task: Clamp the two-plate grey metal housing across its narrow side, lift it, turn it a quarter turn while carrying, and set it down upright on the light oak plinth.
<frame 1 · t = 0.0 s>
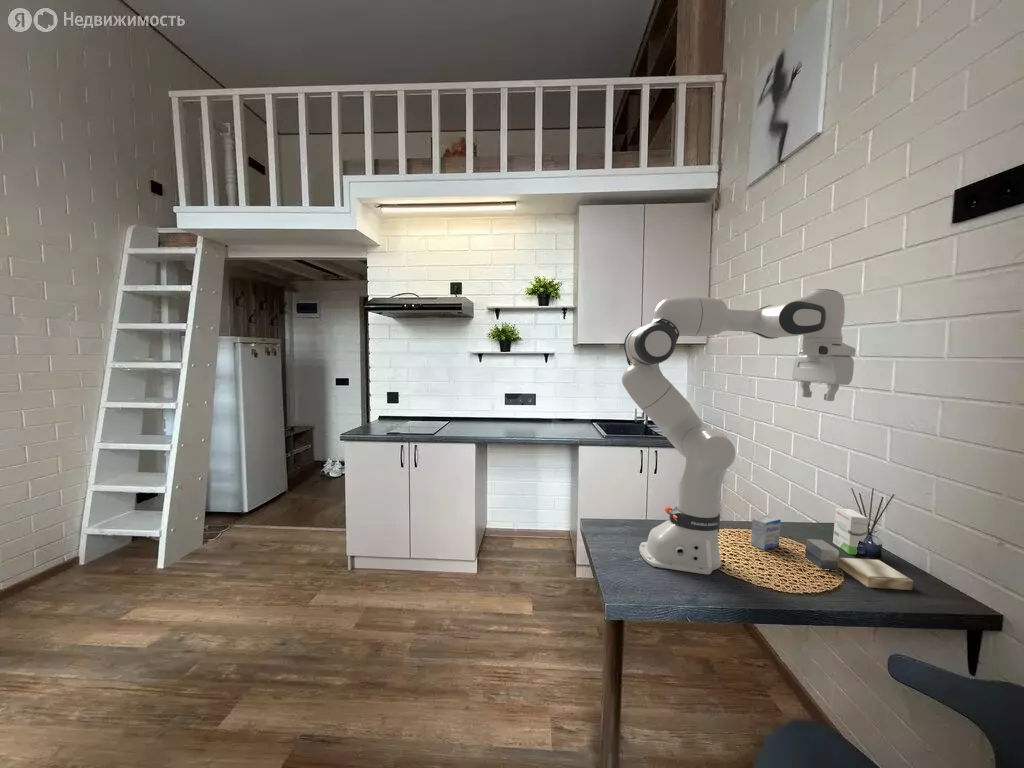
hand: (817, 399, 118), 48 cm above the table, fingers open, 8 cm apart
plinth: (873, 577, 116), on the table
medicine box: (764, 546, 134), on the table
ink box: (848, 549, 133), on the table
housing: (820, 564, 122), on the table
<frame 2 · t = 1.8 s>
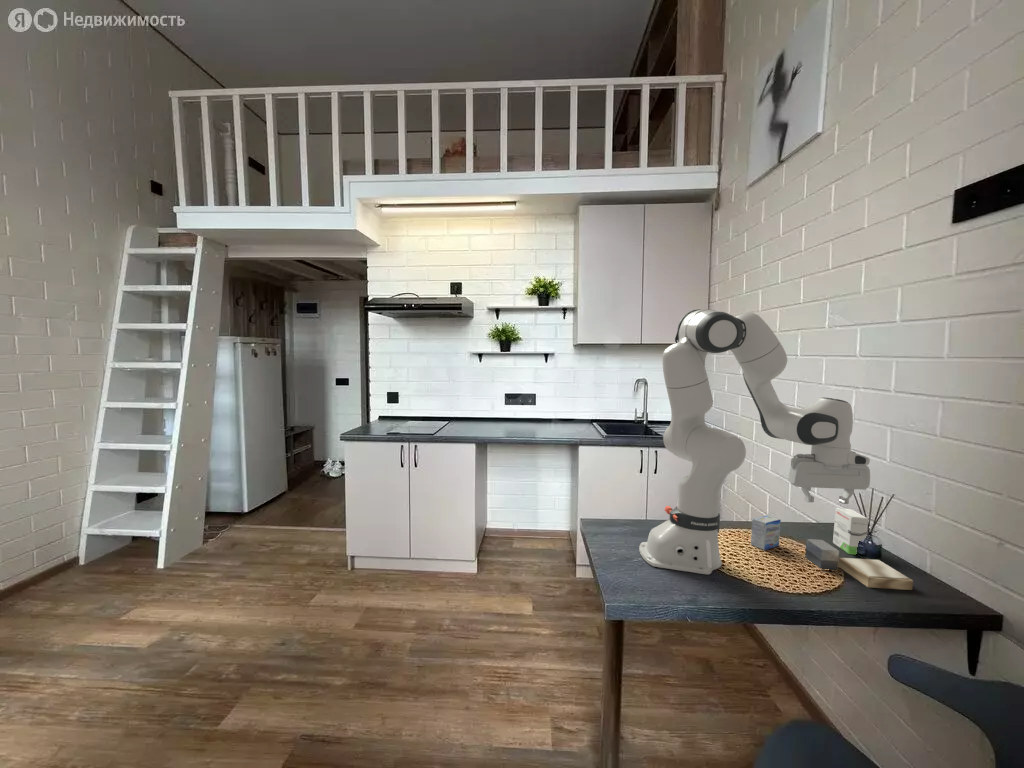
hand: (826, 502, 121), 18 cm above the table, fingers open, 8 cm apart
nothing on the table moved.
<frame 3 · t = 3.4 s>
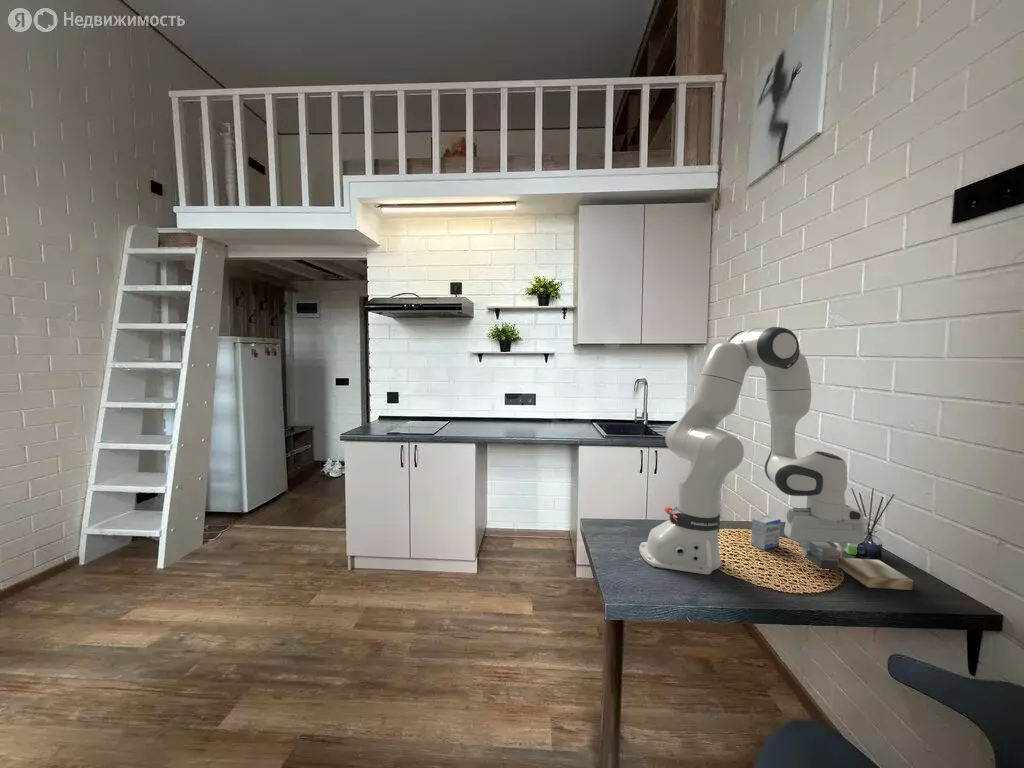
hand: (821, 555, 122), 3 cm above the table, fingers open, 7 cm apart
nothing on the table moved.
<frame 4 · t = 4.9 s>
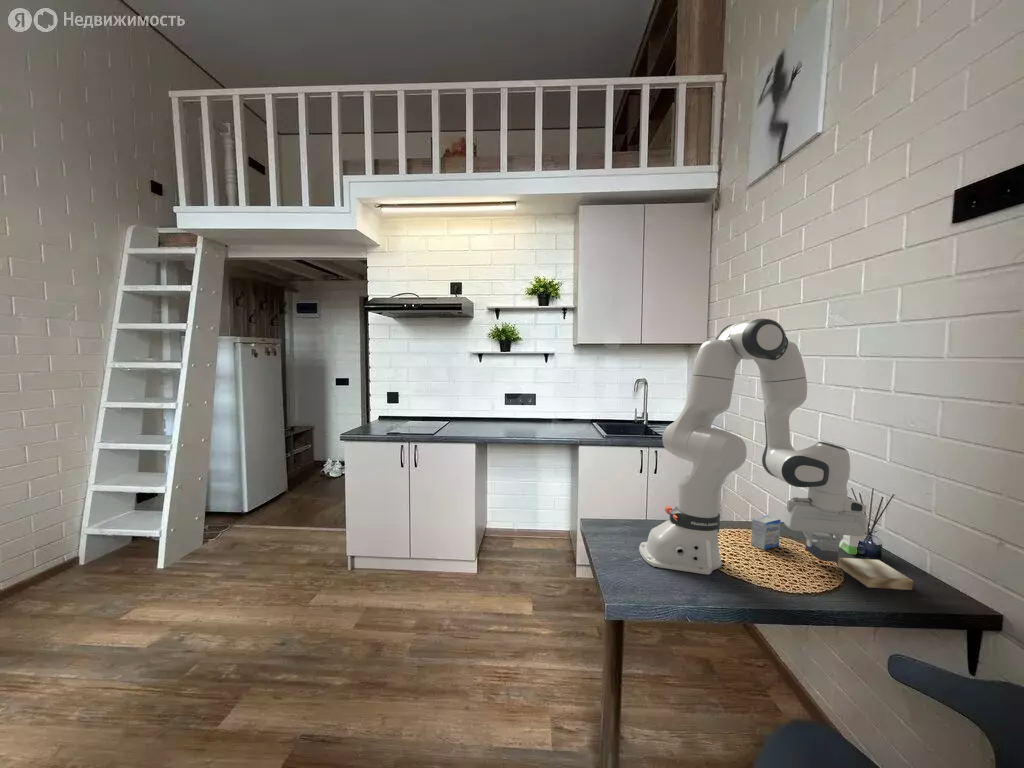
hand: (821, 547, 121), 5 cm above the table, fingers closed on housing, 4 cm apart
housing: (820, 555, 121), point 3 cm above the table, touching gripper
everything else where it was.
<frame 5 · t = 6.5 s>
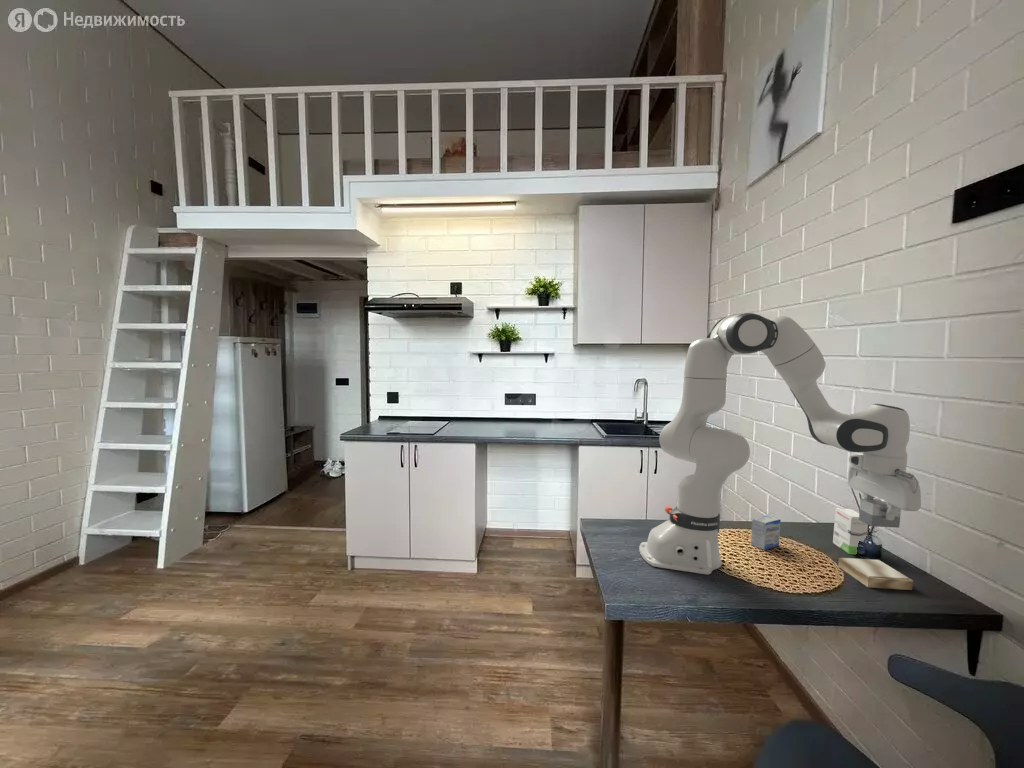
hand: (879, 515, 114), 18 cm above the table, fingers closed on housing, 4 cm apart
housing: (878, 523, 114), point 15 cm above the table, touching gripper
everything else where it was.
when the fingers open (6 cm above the table, at t = 9.0 s): housing stays where it is, resting on plinth.
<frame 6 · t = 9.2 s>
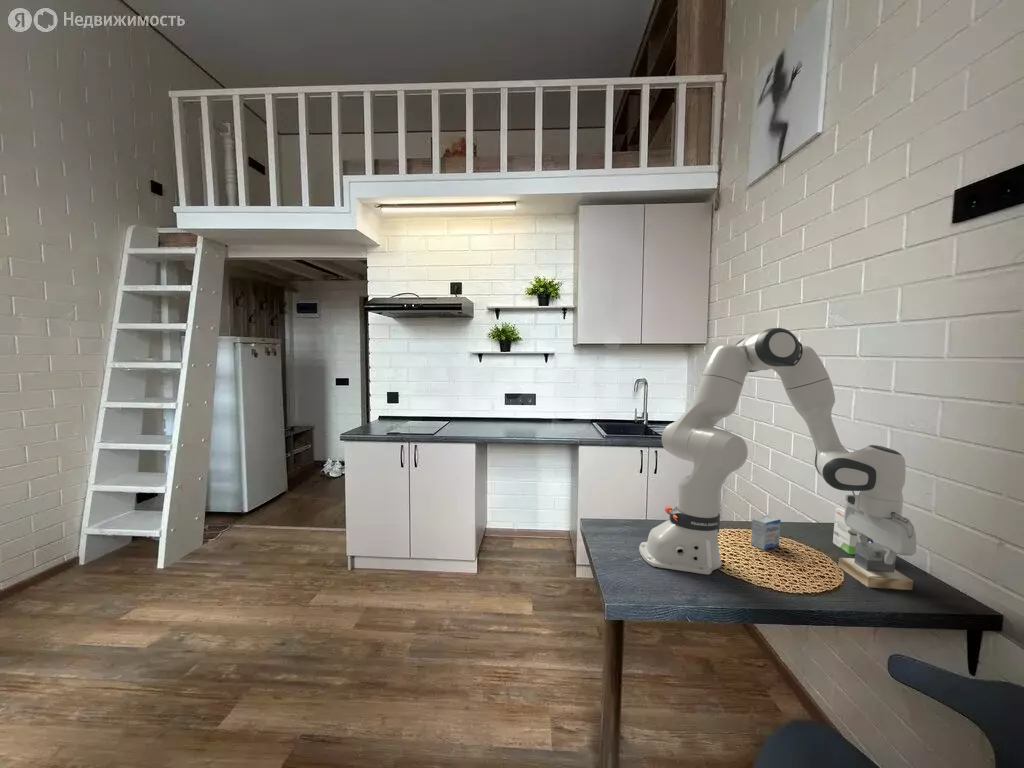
hand: (875, 555, 115), 6 cm above the table, fingers open, 6 cm apart
housing: (873, 567, 115), point 3 cm above the table, touching plinth
everything else where it was.
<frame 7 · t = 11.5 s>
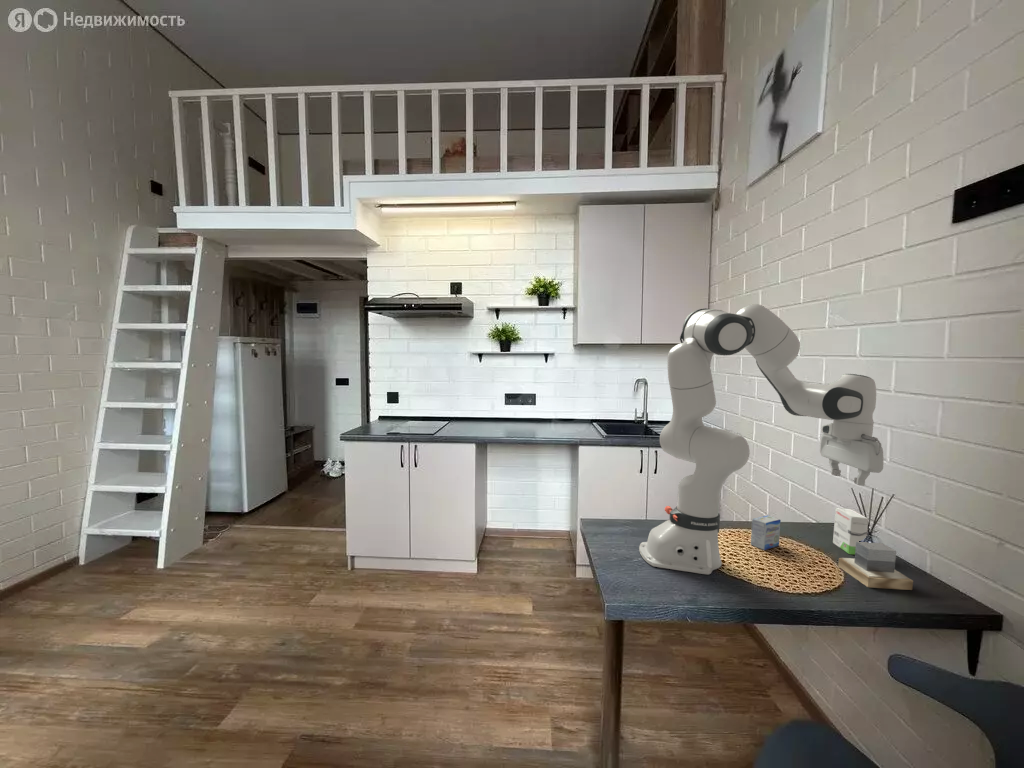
hand: (846, 480, 120), 25 cm above the table, fingers open, 8 cm apart
nothing on the table moved.
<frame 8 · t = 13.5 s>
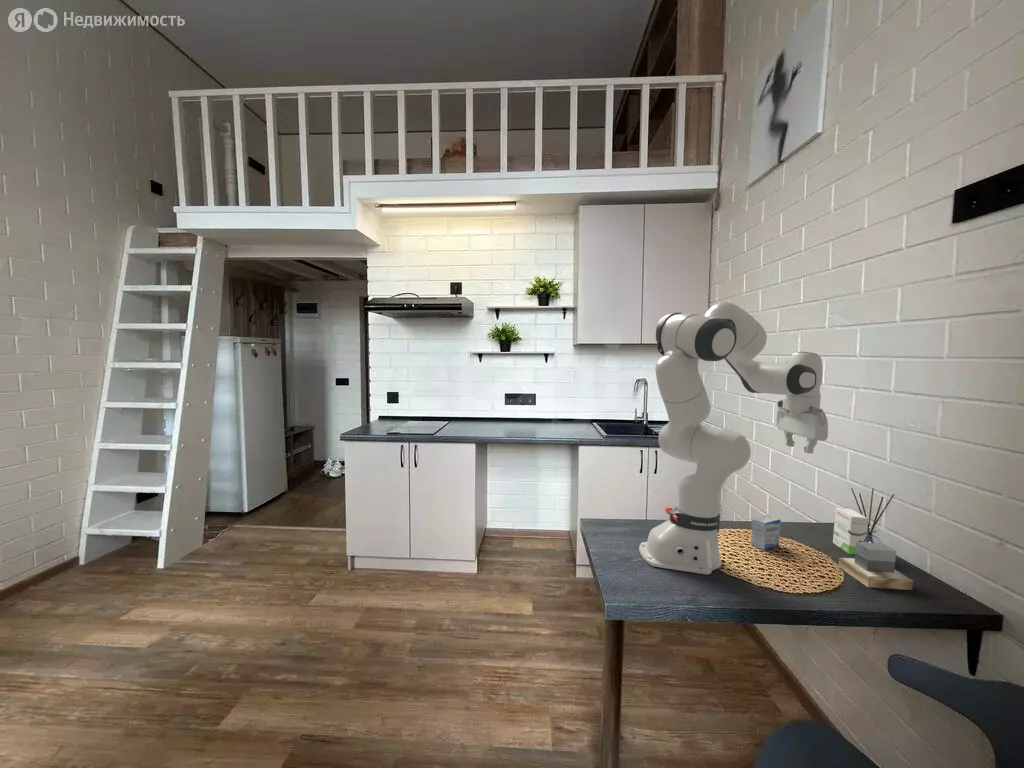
hand: (798, 449, 131), 31 cm above the table, fingers open, 8 cm apart
nothing on the table moved.
at the end: housing inside the target area on the plinth (0.1 cm from its centre), point 2.8 cm above the plinth's base; housing tilted 0°; the gripper is holding nothing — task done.
